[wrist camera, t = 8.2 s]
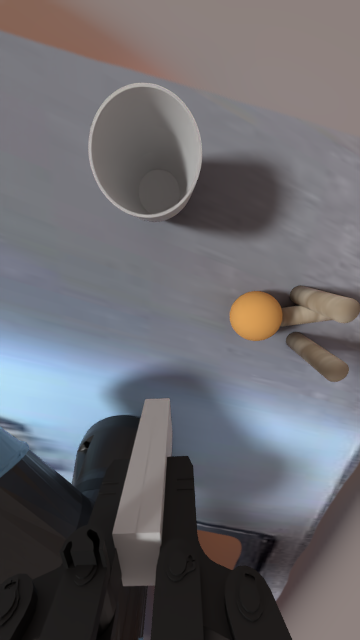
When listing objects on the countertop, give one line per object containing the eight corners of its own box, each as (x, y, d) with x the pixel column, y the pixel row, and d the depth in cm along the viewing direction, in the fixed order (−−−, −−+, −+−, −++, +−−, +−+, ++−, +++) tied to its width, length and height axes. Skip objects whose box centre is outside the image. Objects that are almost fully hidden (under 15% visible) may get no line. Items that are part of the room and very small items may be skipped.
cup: (154, 134, 23) (134, 49, 14) (208, 189, 25) (225, 148, 15) (111, 197, 25) (66, 162, 15) (164, 245, 26) (153, 240, 17)
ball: (259, 348, 22) (225, 344, 28) (298, 334, 24) (259, 334, 30) (248, 291, 22) (216, 299, 27) (289, 283, 24) (251, 292, 30)
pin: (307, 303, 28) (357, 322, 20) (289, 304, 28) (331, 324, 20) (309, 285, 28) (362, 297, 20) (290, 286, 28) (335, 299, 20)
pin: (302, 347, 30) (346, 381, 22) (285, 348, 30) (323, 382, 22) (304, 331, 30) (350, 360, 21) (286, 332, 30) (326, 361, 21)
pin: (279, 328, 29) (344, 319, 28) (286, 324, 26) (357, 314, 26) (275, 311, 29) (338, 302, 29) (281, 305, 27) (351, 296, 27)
